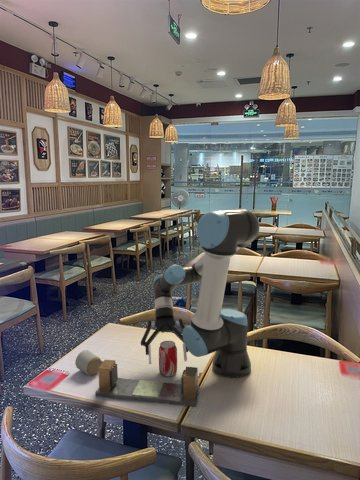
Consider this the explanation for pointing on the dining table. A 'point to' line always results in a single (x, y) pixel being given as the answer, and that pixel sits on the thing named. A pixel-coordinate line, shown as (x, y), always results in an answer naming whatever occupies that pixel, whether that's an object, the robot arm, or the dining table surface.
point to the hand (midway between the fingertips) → (168, 361)
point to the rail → (148, 387)
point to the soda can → (167, 358)
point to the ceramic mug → (88, 362)
